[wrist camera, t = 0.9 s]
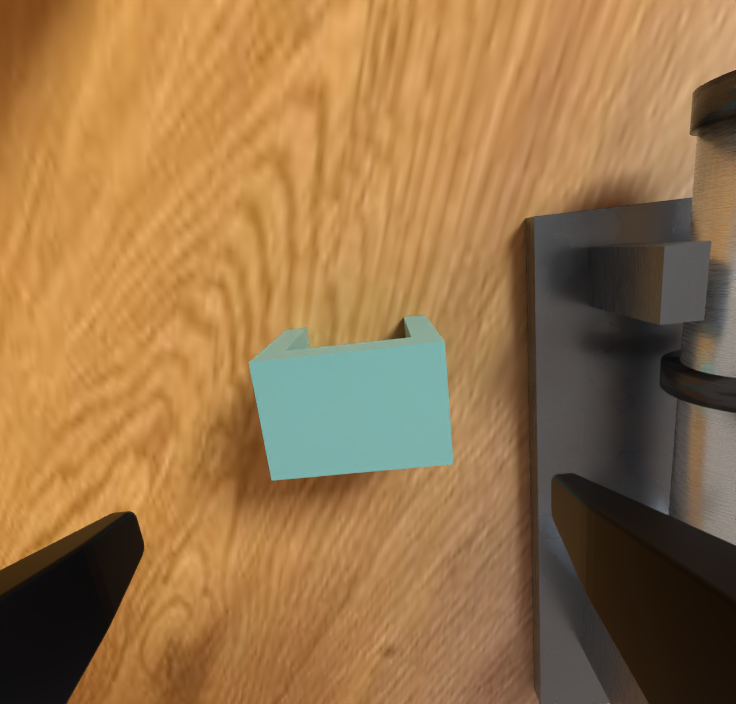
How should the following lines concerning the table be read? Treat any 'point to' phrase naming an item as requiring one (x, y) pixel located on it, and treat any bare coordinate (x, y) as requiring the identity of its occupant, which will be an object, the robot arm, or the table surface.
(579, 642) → the bearing stand
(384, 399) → the bracket
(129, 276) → the table surface
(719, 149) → the shaft
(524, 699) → the table surface
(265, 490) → the table surface
